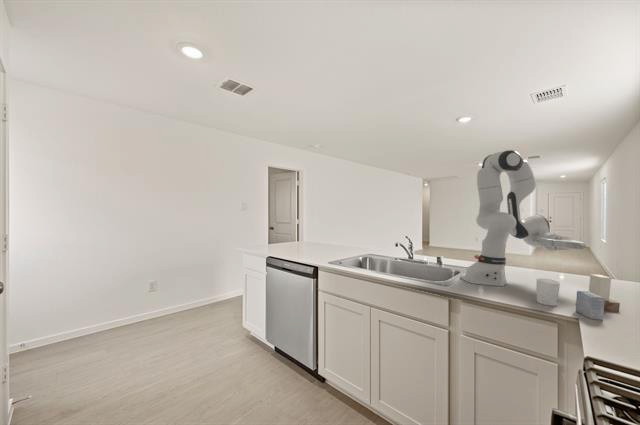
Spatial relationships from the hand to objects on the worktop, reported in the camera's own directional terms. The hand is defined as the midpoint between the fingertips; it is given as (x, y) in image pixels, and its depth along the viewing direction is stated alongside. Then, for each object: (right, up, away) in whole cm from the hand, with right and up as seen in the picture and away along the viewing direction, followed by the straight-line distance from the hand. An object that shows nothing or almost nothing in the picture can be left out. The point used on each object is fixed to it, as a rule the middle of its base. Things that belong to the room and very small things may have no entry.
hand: (574, 246), depth 128 cm
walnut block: (-1, -25, -11) cm, 27 cm away
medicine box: (-14, -25, -21) cm, 35 cm away
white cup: (-20, -24, -8) cm, 33 cm away
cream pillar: (-1, -21, -11) cm, 24 cm away
